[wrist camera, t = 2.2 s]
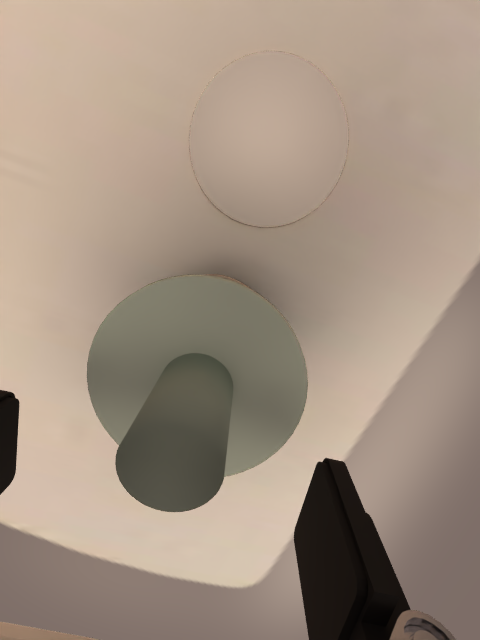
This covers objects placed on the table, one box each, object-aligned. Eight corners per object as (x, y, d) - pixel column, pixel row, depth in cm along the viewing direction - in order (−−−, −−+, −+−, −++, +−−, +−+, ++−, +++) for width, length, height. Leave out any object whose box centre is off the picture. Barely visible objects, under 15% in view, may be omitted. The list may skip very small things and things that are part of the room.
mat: (297, 16, 20) (298, 11, 19) (373, 172, 22) (376, 171, 21) (159, 120, 21) (157, 117, 21) (243, 255, 24) (243, 255, 23)
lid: (230, 229, 13) (215, 233, 8) (342, 410, 16) (393, 514, 10) (52, 347, 15) (-64, 419, 10) (174, 496, 17) (138, 626, 12)
